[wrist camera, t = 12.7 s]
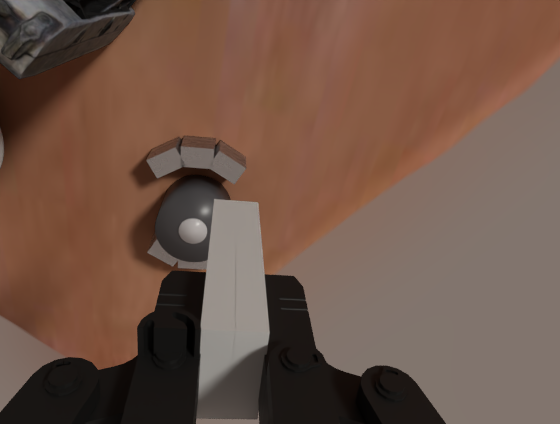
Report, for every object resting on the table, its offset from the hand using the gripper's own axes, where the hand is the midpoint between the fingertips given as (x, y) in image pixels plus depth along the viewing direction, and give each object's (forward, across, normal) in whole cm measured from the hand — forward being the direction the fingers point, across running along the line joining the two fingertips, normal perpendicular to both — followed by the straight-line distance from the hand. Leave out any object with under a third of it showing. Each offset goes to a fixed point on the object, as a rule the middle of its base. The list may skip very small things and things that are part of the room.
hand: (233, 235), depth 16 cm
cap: (+26, -3, -12) cm, 29 cm away
